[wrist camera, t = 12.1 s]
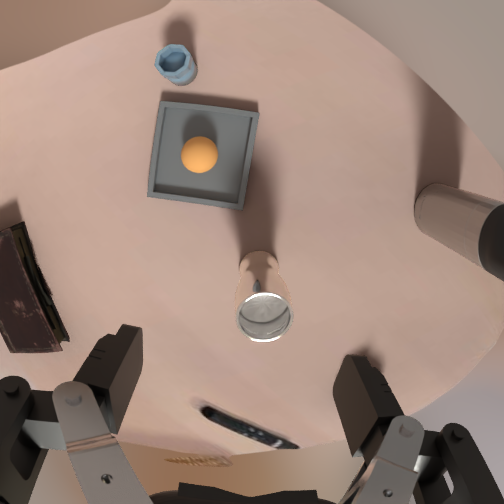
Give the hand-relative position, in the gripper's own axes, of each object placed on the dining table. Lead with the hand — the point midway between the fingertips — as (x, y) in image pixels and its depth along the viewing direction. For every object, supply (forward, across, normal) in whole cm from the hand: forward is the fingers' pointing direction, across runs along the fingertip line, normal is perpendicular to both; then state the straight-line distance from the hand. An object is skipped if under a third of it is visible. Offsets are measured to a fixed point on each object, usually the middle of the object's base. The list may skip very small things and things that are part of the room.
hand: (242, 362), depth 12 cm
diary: (+37, +43, +23) cm, 61 cm away
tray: (+36, +7, -6) cm, 37 cm away
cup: (+36, +12, -18) cm, 42 cm away
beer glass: (+36, -4, +10) cm, 38 cm away
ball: (+33, +7, -6) cm, 34 cm away
